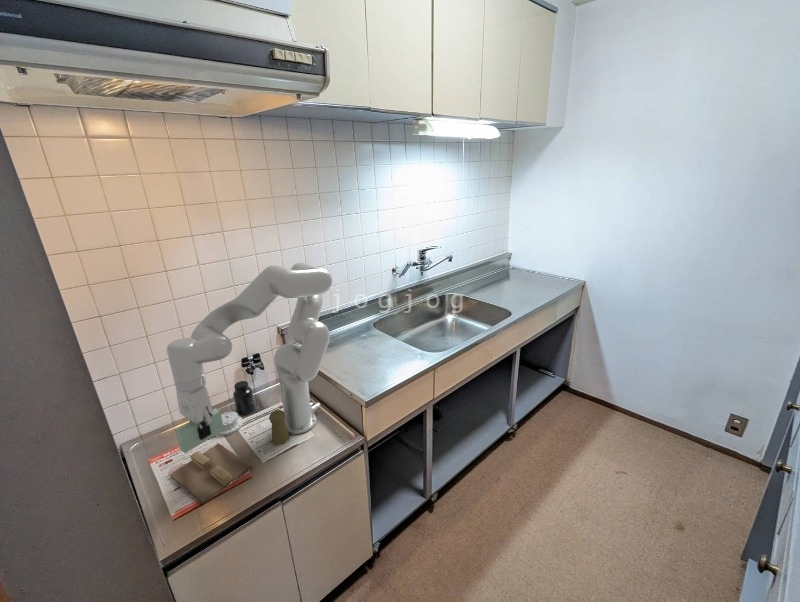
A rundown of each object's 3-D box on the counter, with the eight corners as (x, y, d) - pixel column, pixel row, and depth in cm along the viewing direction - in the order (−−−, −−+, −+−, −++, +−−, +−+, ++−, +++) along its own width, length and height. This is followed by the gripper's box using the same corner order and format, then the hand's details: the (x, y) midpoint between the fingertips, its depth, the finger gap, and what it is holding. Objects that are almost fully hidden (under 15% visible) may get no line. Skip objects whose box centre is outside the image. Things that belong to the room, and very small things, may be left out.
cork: (270, 435, 130) (266, 409, 127) (288, 431, 133) (284, 405, 129) (272, 447, 125) (267, 420, 121) (290, 442, 127) (286, 415, 123)
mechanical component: (207, 434, 132) (232, 438, 130) (205, 424, 130) (230, 428, 128) (225, 416, 141) (248, 420, 139) (223, 407, 139) (247, 410, 137)
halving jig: (219, 445, 126) (217, 438, 125) (252, 467, 117) (250, 460, 116) (170, 476, 113) (168, 469, 112) (203, 504, 104) (201, 496, 103)
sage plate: (219, 426, 116) (215, 408, 113) (224, 429, 114) (220, 410, 112) (180, 449, 106) (175, 429, 104) (185, 453, 105) (180, 433, 103)
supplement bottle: (251, 402, 148) (247, 377, 144) (258, 410, 144) (254, 384, 140) (233, 410, 144) (228, 383, 140) (240, 418, 139) (235, 391, 135)
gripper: (161, 378, 105) (175, 432, 111) (193, 397, 96) (205, 453, 103) (188, 367, 111) (199, 418, 117) (219, 383, 102) (230, 437, 109)
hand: (202, 434), depth 110 cm, fingers closed on sage plate, 2 cm apart
